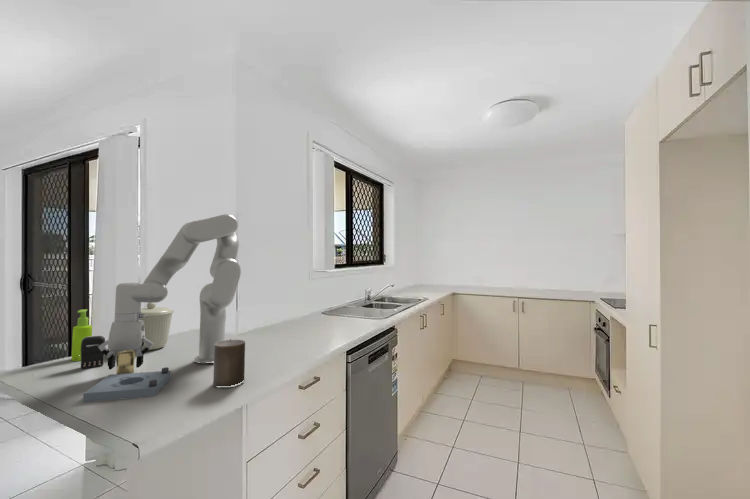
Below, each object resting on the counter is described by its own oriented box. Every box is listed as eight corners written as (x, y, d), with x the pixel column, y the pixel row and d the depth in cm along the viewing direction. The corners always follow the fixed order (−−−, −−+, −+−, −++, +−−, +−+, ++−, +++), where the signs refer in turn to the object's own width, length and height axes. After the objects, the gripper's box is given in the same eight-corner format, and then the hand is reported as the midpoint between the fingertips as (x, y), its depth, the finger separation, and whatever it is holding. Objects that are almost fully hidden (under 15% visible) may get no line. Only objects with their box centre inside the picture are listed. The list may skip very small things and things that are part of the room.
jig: (170, 377, 116) (170, 366, 116) (154, 396, 101) (155, 382, 101) (109, 382, 111) (109, 370, 111) (82, 402, 95) (83, 388, 95)
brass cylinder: (136, 371, 121) (137, 349, 121) (130, 376, 116) (131, 353, 117) (120, 372, 120) (121, 350, 120) (113, 377, 115) (114, 354, 115)
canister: (119, 355, 140) (121, 305, 141) (130, 344, 157) (133, 300, 157) (168, 351, 147) (170, 304, 148) (175, 341, 164) (176, 299, 165)
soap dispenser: (68, 362, 129) (70, 311, 130) (74, 357, 136) (76, 308, 136) (87, 360, 132) (89, 310, 133) (92, 356, 138) (94, 308, 139)
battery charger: (79, 370, 121) (80, 338, 122) (80, 367, 124) (81, 336, 125) (103, 366, 125) (105, 336, 126) (104, 364, 129) (105, 334, 129)
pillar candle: (249, 383, 112) (250, 339, 113) (219, 391, 105) (221, 343, 106) (237, 376, 119) (238, 334, 120) (208, 383, 112) (210, 338, 113)
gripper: (159, 315, 125) (157, 362, 124) (103, 316, 120) (101, 365, 119) (152, 318, 118) (149, 368, 117) (93, 320, 112) (90, 372, 112)
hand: (125, 367), depth 118 cm, fingers open, 7 cm apart
